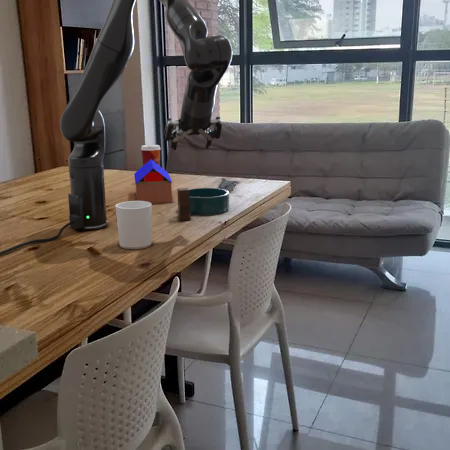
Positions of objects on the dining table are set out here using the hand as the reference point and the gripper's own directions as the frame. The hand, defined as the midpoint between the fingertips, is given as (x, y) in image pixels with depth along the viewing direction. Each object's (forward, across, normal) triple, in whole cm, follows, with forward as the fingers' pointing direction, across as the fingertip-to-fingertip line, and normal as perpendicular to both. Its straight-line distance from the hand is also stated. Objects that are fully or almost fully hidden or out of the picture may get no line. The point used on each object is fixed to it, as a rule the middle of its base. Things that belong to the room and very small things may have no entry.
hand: (189, 146), depth 156 cm
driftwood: (+54, -25, -22) cm, 64 cm away
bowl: (+31, -8, +1) cm, 32 cm away
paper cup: (+68, +1, -36) cm, 77 cm away
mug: (+10, +17, +22) cm, 30 cm away
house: (+48, +4, -16) cm, 51 cm away
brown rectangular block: (+24, 0, +8) cm, 25 cm away
